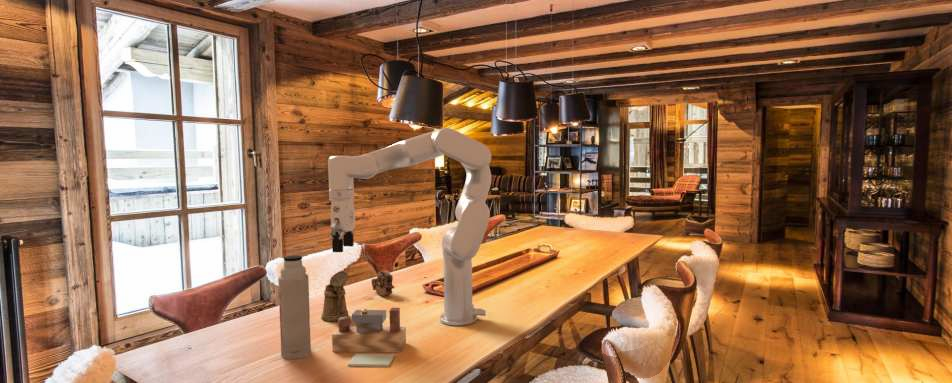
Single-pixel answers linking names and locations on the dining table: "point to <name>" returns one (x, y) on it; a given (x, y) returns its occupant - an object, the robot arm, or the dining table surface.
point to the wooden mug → (335, 298)
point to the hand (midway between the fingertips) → (343, 249)
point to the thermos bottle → (294, 309)
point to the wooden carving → (383, 283)
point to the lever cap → (369, 316)
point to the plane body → (370, 336)
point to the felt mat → (371, 360)
